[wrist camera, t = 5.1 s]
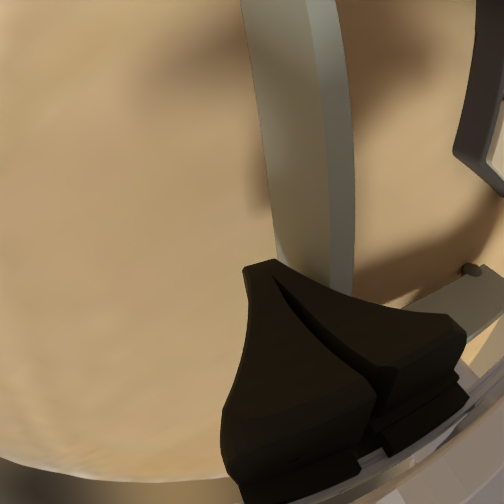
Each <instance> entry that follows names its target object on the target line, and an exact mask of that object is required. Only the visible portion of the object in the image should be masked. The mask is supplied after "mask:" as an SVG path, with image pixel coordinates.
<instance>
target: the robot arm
mask: <svg viewBox="0 0 504 504" xmlns="http://www.w3.org/2000/svg"><path fill="white" fill-rule="evenodd" d="M242 273H243V278H244V283H245V288H246V292H247V297H248V322H247V331H246V338H245V343H244V348H243V353H242V357H241V361H240V364H239V367H238V370H237V373H236V377H235V380H234V383H233V385H232V388H231V390H230V393H229V395H228V397H227V400H226V402H225V404H224V407H223V409H222V419H221V430H220V448H221V455H222V458H223V462H224V465H225V468H226V471H227V473H228V474H229V476H230V477H231V478H232V479H233V480H234V481H235V482H236V484H237V485H238V486H239V489H240V492H241V495H242V498H243V502H238V503H234V504H316V503H319V502H322V501H324V500H327V499H329V498H331V497H334V496H336V495H338V494H341V493H343V492H345V491H347V490H349V489H351V488H354V487H356V486H358V485H360V484H362V483H364V482H366V481H368V480H370V479H372V478H373V477H375V476H377V475H379V474H381V473H383V472H384V471H386V470H388V469H390V468H391V467H393V466H395V465H397V464H398V463H400V462H401V461H403V460H405V459H406V458H408V457H409V456H412V458H413V460H412V461H411V462H410V466H409V469H408V470H407V471H405V472H404V473H402V474H401V475H399V476H397V477H396V478H394V479H392V480H391V481H389V482H388V483H386V484H384V485H382V486H381V487H379V488H377V489H375V490H374V491H372V492H370V493H368V494H366V495H364V496H362V497H360V498H359V499H357V500H355V501H353V502H351V503H349V504H504V356H503V357H502V358H501V359H500V360H499V361H498V362H497V363H496V364H495V365H494V366H493V367H492V368H491V369H489V370H488V371H487V372H486V373H485V374H484V375H483V376H482V377H481V378H479V377H478V376H477V375H476V374H475V373H474V372H473V371H472V370H471V369H470V368H469V366H468V365H467V364H466V363H465V362H464V361H463V360H462V359H461V358H460V357H461V355H462V353H463V351H464V348H465V346H466V342H467V333H466V331H465V330H464V329H463V328H462V327H461V326H460V325H459V324H458V323H457V322H456V321H455V320H453V319H452V318H451V317H450V316H449V315H448V314H443V313H427V312H415V311H408V310H402V309H396V308H391V307H386V306H382V305H378V304H374V303H370V302H366V301H363V300H360V299H357V298H354V297H351V296H348V295H345V294H343V293H340V292H338V291H335V290H333V289H331V288H329V287H326V286H324V285H322V284H320V283H318V282H316V281H314V280H312V279H310V278H308V277H306V276H304V275H302V274H301V273H299V272H297V271H295V270H294V269H292V268H290V267H288V266H287V265H285V264H283V263H282V262H280V261H278V260H276V259H271V260H267V261H264V262H260V263H256V264H253V265H249V266H246V267H244V268H243V270H242Z"/></svg>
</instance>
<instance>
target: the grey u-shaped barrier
mask: <svg viewBox="0 0 504 504" xmlns="http://www.w3.org/2000/svg"><path fill="white" fill-rule="evenodd" d="M240 3H241V9H242V15H243V20H244V26H245V32H246V38H247V44H248V50H249V56H250V62H251V69H252V75H253V81H254V88H255V94H256V101H257V108H258V114H259V121H260V128H261V135H262V142H263V149H264V156H265V164H266V171H267V179H268V186H269V194H270V202H271V210H272V218H273V226H274V234H275V242H276V251H277V259H278V261H280V262H282V263H283V264H285V265H287V266H288V267H290V268H292V269H294V270H295V271H297V272H299V273H301V274H302V275H304V276H306V277H308V278H310V279H312V280H314V281H316V282H318V283H320V284H322V285H324V286H326V287H329V288H331V289H333V290H335V291H338V292H340V293H343V294H345V295H348V296H351V297H352V283H353V266H354V241H355V172H354V147H353V130H352V117H351V105H350V95H349V85H348V77H347V69H346V61H345V54H344V47H343V41H342V35H341V29H340V23H339V18H338V13H337V8H336V3H335V0H240ZM401 309H402V310H408V311H415V312H427V313H443V314H448V315H449V316H450V317H451V318H452V319H453V320H455V321H456V322H457V323H458V324H459V325H460V326H461V327H462V328H463V329H464V330H465V331H466V333H467V342H466V344H467V343H468V342H470V341H471V340H472V339H474V338H475V337H476V336H477V335H479V334H480V333H481V332H482V331H484V330H485V329H486V328H487V327H489V326H490V325H491V324H492V323H493V322H494V321H496V320H497V319H498V318H499V317H500V316H501V315H502V314H503V313H504V278H503V277H501V276H500V275H499V274H497V273H496V272H495V271H493V270H492V269H490V268H489V267H488V266H486V265H485V264H483V265H481V266H477V265H475V264H471V263H469V264H466V265H464V268H463V272H462V276H461V278H459V279H457V280H455V281H453V282H452V283H450V284H448V285H446V286H444V287H442V288H441V289H439V290H437V291H435V292H433V293H431V294H429V295H427V296H425V297H423V298H421V299H419V300H417V301H415V302H413V303H411V304H409V305H407V306H405V307H403V308H401Z"/></svg>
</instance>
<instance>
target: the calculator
mask: <svg viewBox="0 0 504 504" xmlns="http://www.w3.org/2000/svg"><path fill="white" fill-rule="evenodd" d="M475 31H476V33H477V35H476V42H475V48H474V54H473V59H472V64H471V69H470V74H469V80H468V85H467V90H466V95H465V100H464V105H463V109H462V114H461V118H460V122H459V126H458V130H457V134H456V137H455V141H454V145H453V149H452V152H453V155H454V156H455V157H456V158H457V159H459V160H460V161H461V162H462V163H464V164H465V165H466V166H467V167H469V168H470V169H471V170H472V171H473V172H475V173H476V174H477V175H478V176H479V177H480V178H482V179H483V180H484V181H485V182H486V183H487V184H488V185H490V186H491V187H492V188H493V189H494V190H495V191H496V192H497V193H498V194H499V195H500V196H502V197H503V198H504V0H476V20H475Z"/></svg>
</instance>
